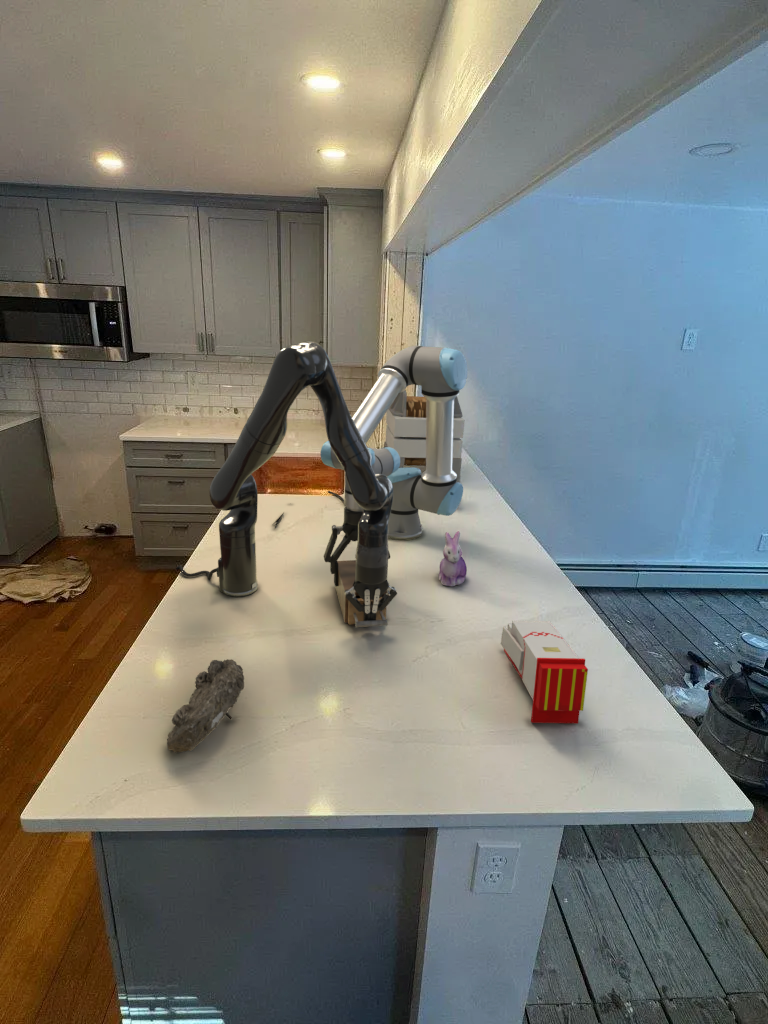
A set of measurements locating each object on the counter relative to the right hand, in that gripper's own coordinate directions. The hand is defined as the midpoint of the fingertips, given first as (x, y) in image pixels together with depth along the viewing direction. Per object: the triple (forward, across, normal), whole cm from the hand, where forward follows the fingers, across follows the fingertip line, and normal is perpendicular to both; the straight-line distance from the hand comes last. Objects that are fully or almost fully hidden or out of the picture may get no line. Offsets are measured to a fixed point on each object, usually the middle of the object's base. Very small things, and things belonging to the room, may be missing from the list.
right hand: (356, 582), depth 156 cm
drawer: (+2, 0, -11) cm, 11 cm away
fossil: (+3, -35, -45) cm, 57 cm away
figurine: (+3, +29, +5) cm, 30 cm away
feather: (+3, -18, +63) cm, 66 cm away
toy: (+3, +32, -44) cm, 55 cm away
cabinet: (+3, 0, -5) cm, 6 cm away
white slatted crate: (+3, +50, +117) cm, 128 cm away
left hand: (+1, 0, -20) cm, 20 cm away
